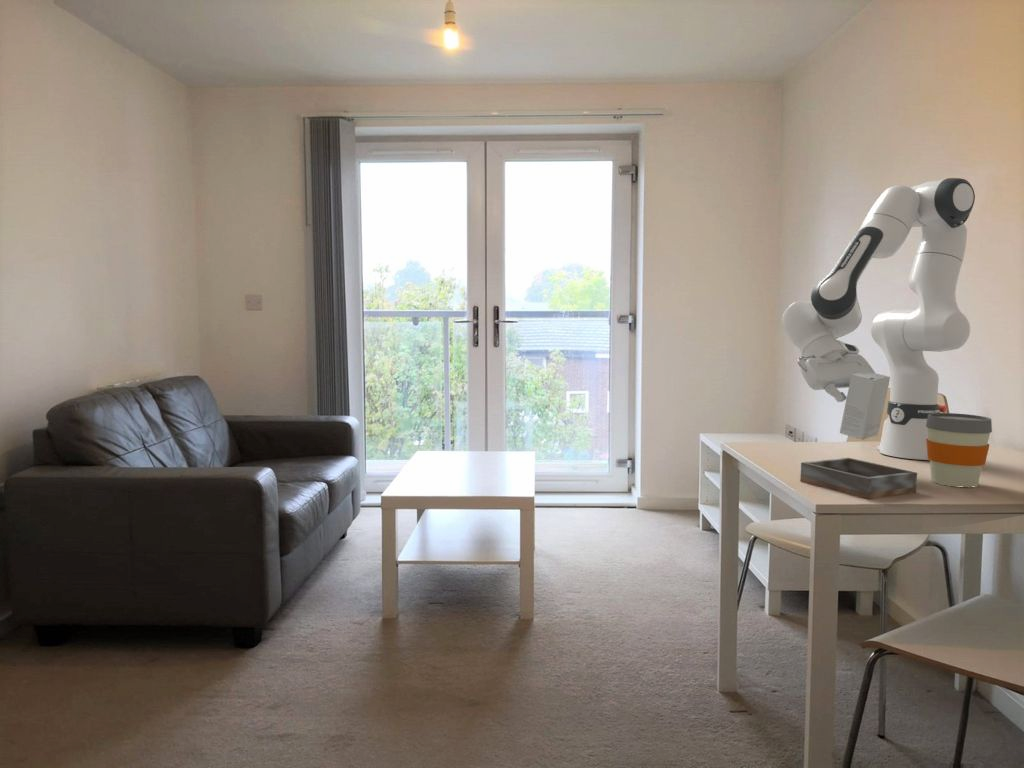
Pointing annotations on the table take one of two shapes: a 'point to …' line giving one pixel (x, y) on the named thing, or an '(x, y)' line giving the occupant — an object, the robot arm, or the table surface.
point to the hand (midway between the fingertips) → (856, 399)
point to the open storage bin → (858, 477)
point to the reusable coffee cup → (957, 447)
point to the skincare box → (864, 405)
